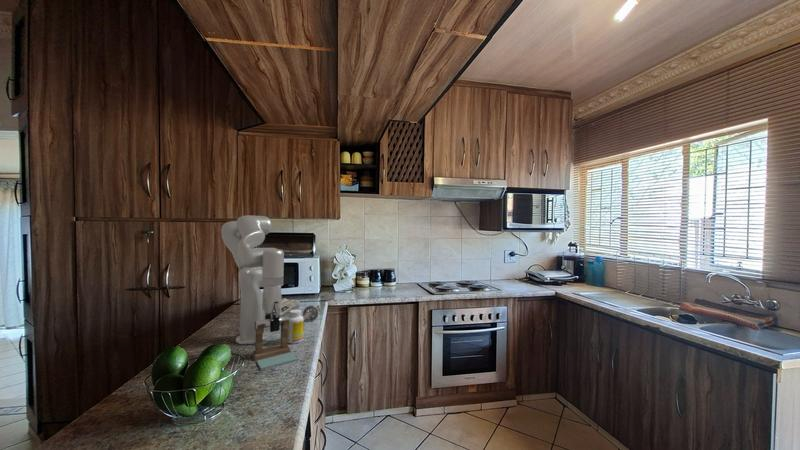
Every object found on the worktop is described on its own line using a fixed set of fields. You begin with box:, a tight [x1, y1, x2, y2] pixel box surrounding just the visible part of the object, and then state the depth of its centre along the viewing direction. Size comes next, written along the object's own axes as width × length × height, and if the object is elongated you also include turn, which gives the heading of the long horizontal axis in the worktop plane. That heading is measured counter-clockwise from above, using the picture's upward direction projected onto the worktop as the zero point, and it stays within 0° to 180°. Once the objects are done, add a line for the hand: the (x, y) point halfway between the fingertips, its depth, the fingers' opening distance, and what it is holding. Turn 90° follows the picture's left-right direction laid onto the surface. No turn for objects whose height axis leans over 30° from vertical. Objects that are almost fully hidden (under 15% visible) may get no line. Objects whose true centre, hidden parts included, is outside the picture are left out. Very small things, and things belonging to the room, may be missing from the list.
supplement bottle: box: [287, 308, 304, 345], centre depth 121 cm, size 7×7×13 cm
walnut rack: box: [252, 319, 291, 362], centre depth 109 cm, size 6×12×12 cm, turn 128°
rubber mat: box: [256, 351, 298, 371], centre depth 102 cm, size 7×12×1 cm, turn 128°
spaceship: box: [301, 304, 322, 323], centre depth 147 cm, size 8×35×8 cm
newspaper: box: [274, 297, 301, 317], centre depth 165 cm, size 35×12×4 cm, turn 176°
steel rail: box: [256, 315, 289, 329], centre depth 108 cm, size 11×3×3 cm, turn 128°
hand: (272, 327), depth 109 cm, fingers open, 7 cm apart
